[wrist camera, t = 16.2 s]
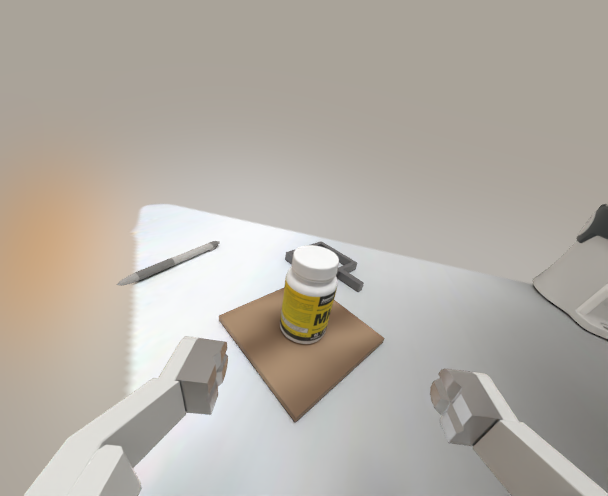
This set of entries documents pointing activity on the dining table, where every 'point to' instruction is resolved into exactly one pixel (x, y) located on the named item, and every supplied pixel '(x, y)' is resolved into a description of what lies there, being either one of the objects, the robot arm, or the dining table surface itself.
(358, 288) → the grey frame with handle
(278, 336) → the pad
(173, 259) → the pen
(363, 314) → the dining table surface
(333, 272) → the supplement bottle
